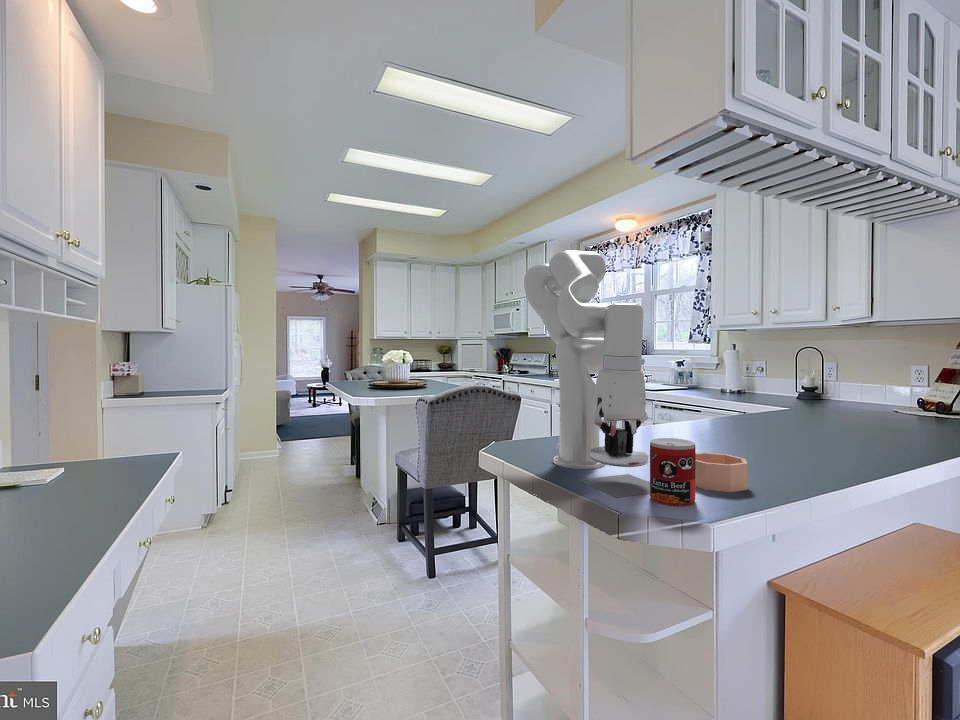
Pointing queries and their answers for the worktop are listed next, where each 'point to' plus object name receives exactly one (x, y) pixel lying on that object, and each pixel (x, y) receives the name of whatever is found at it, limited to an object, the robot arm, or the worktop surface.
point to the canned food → (672, 471)
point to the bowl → (721, 472)
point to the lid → (619, 453)
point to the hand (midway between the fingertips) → (618, 451)
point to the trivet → (619, 485)
